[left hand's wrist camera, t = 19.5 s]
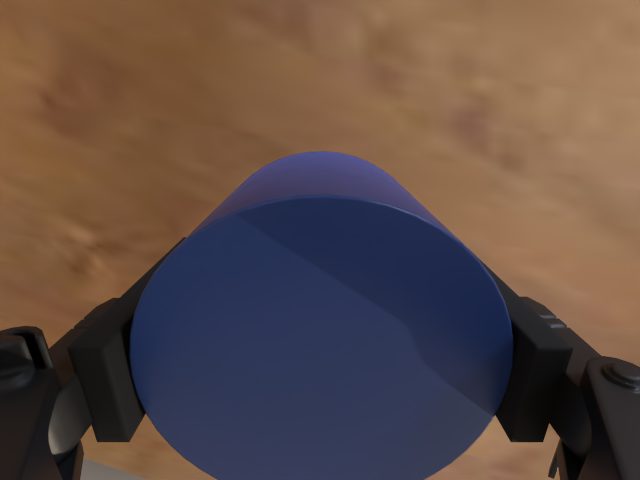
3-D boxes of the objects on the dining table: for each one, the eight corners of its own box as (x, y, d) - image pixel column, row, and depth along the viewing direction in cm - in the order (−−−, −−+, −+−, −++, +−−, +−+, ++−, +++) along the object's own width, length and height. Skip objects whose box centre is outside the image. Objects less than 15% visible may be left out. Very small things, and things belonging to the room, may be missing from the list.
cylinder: (190, 303, 16) (93, 449, 9) (258, 110, 13) (191, 113, 6) (366, 367, 17) (396, 536, 10) (466, 207, 14) (600, 297, 7)
